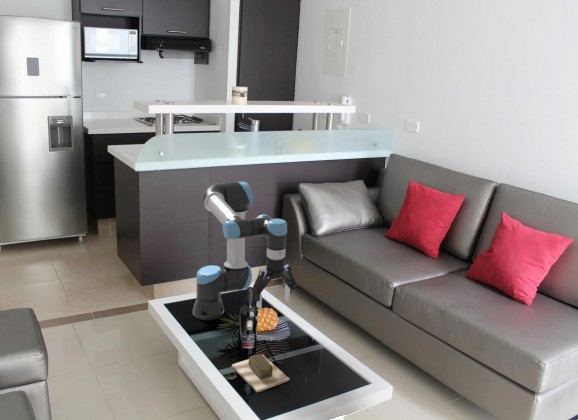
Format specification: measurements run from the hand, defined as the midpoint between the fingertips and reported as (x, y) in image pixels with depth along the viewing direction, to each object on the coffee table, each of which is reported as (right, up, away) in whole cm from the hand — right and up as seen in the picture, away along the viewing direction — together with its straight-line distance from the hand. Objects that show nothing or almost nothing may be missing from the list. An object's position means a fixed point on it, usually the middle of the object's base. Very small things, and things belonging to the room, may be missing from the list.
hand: (273, 304), depth 227 cm
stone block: (-5, -26, -5) cm, 28 cm away
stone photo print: (-5, -27, -5) cm, 28 cm away
